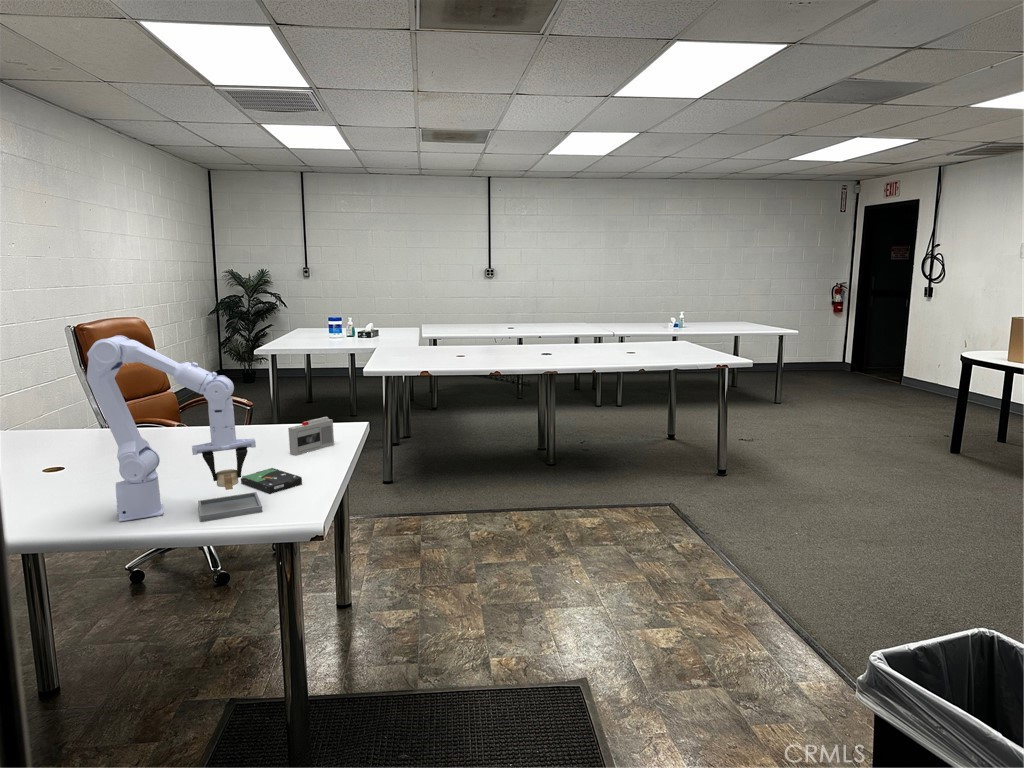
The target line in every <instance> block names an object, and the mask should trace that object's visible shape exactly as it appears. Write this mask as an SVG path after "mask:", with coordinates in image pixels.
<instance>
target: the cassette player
mask: <svg viewBox="0 0 1024 768" xmlns="http://www.w3.org/2000/svg"><path fill="white" fill-rule="evenodd" d="M288 442H289V444H288V445H289V455H290V456H293V457H298V456H299V455H304V454H307V452H308V453H310V452H311V453H312V452H314V451H318V450H322V449H326V448H329V447H332V446H335V436H334V421H333V419H330V418H329V417H328V416H323V417H320V418H315V419H314V418H313V419H309V420H307V421H302V422H301V424H299V425H295V426H290V427H288Z"/></svg>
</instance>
